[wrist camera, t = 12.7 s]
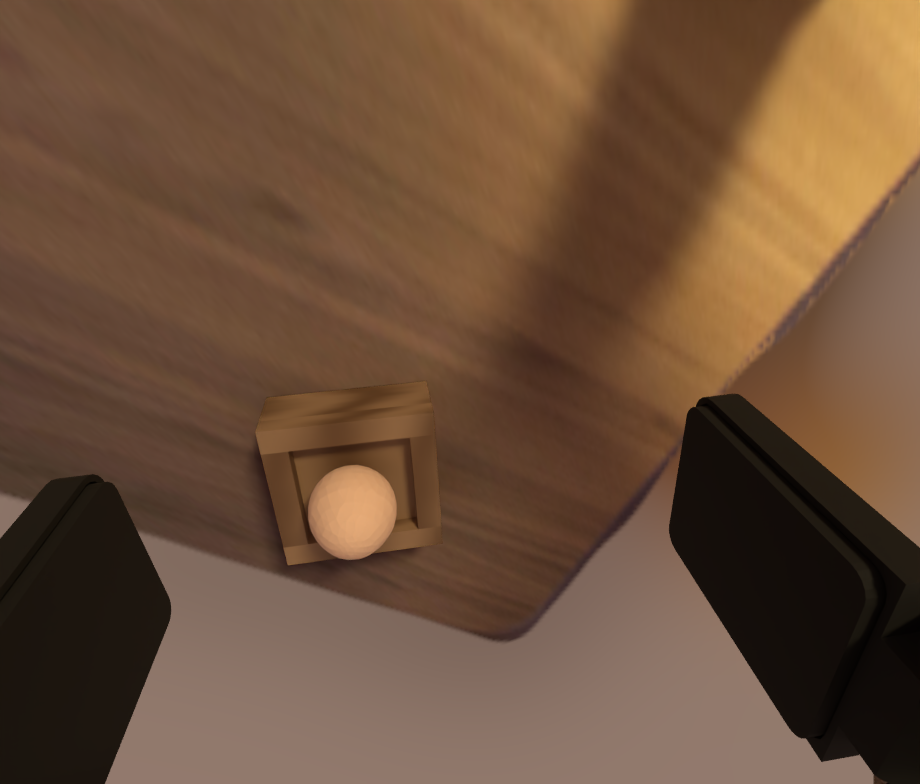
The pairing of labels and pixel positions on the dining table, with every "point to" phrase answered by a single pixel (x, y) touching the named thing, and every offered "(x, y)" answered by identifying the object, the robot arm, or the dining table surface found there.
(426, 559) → the dining table surface
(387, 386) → the base
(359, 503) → the egg
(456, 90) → the dining table surface
